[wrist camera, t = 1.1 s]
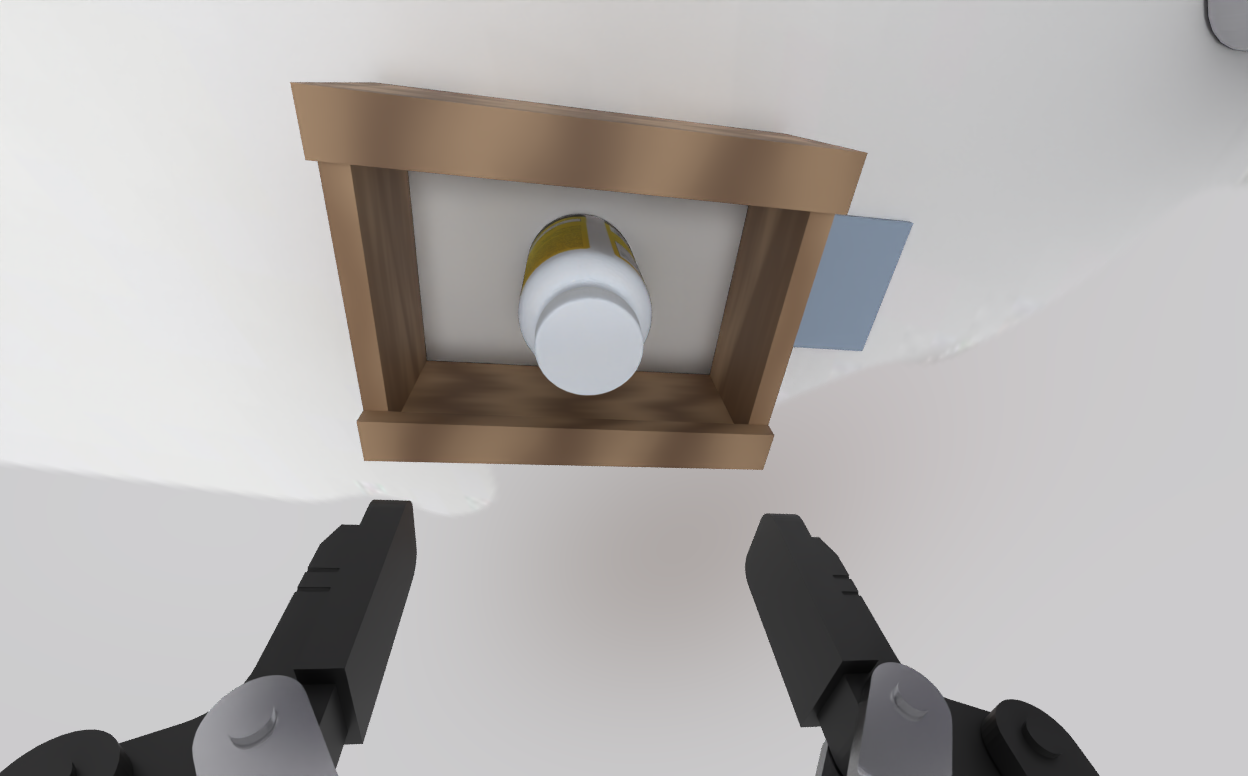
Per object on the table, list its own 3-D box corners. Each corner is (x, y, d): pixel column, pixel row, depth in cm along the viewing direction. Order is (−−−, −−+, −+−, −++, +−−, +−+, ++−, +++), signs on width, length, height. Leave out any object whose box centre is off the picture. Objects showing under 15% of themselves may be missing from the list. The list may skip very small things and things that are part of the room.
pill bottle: (508, 277, 31) (481, 367, 21) (566, 187, 29) (567, 242, 19) (593, 331, 33) (605, 435, 24) (653, 253, 31) (694, 332, 21)
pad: (909, 221, 32) (913, 223, 31) (859, 348, 36) (862, 351, 36) (775, 208, 30) (777, 209, 30) (741, 341, 35) (742, 343, 35)
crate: (785, 133, 28) (867, 153, 21) (722, 389, 37) (762, 469, 29) (374, 82, 25) (290, 82, 17) (409, 375, 34) (364, 460, 26)
